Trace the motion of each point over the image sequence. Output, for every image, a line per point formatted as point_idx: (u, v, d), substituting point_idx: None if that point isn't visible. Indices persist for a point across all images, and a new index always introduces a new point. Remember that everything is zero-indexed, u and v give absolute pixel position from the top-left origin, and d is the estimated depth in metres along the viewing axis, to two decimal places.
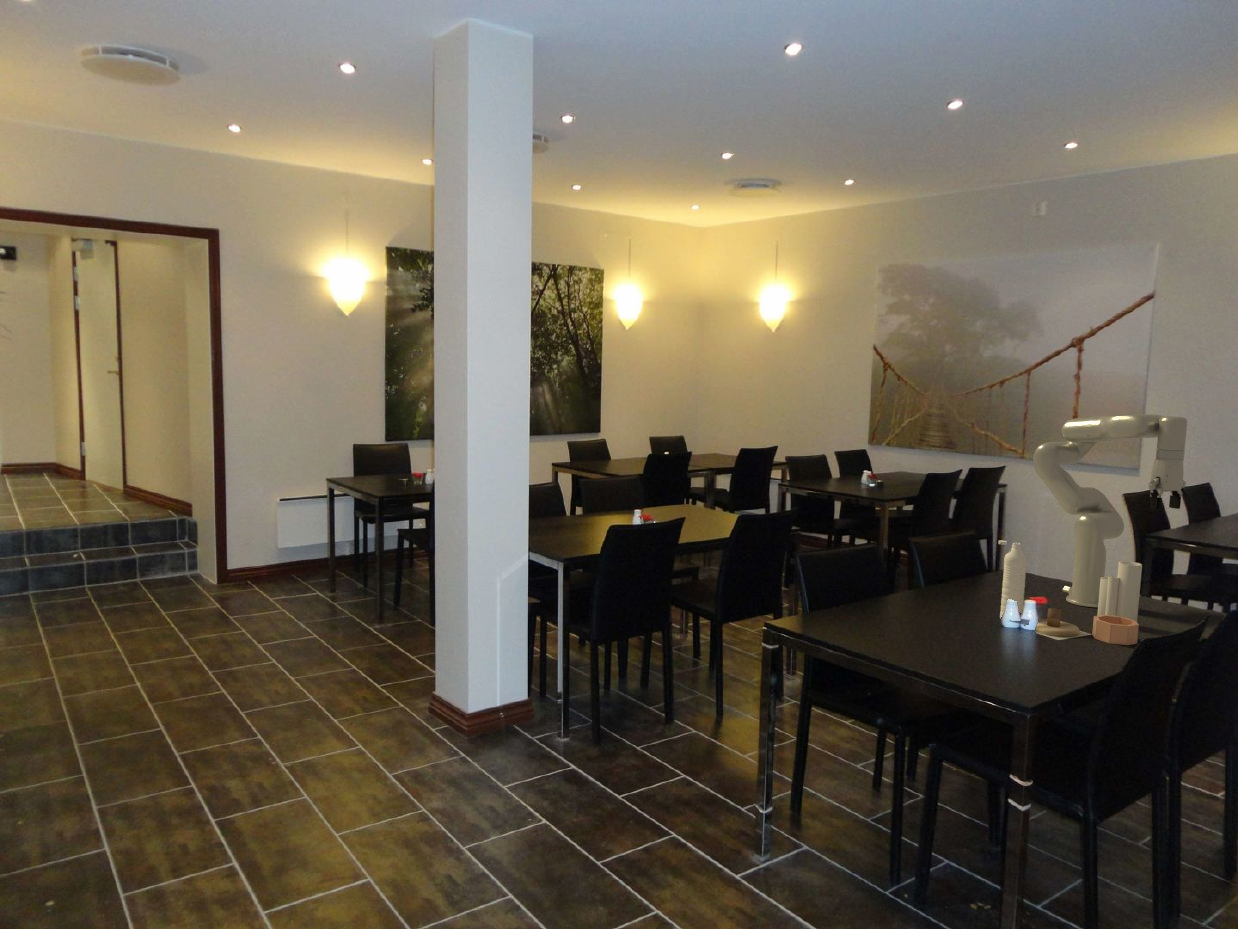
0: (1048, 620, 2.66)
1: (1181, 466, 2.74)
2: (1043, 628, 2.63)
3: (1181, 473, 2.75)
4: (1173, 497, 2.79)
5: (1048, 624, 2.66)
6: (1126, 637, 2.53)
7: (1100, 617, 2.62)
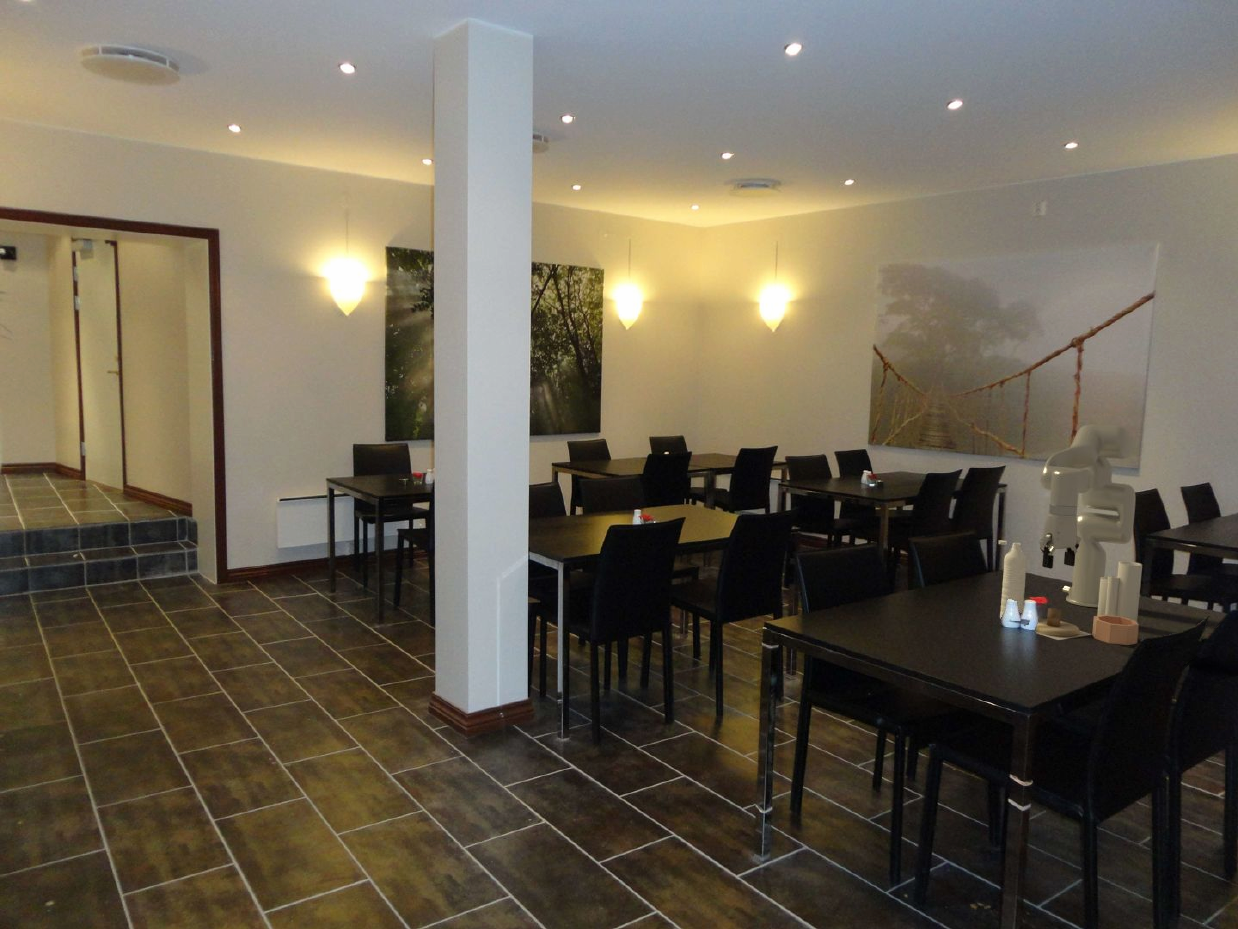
0: (1048, 620, 2.66)
1: (1074, 522, 2.62)
2: (1043, 628, 2.63)
3: (1074, 529, 2.62)
4: (1068, 554, 2.66)
5: (1048, 624, 2.66)
6: (1126, 637, 2.53)
7: (1100, 617, 2.62)
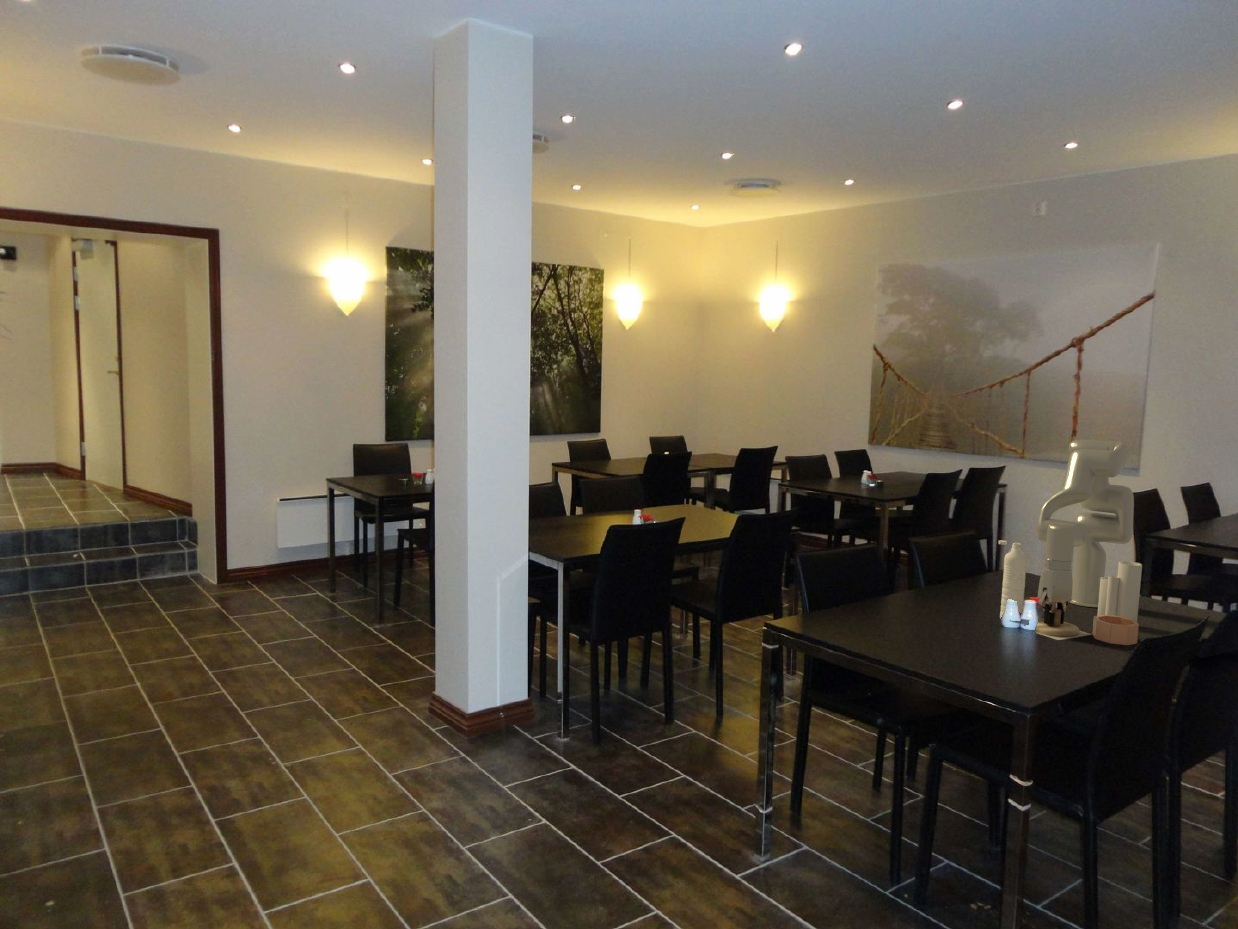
0: None
1: (1069, 576, 2.64)
2: (1043, 628, 2.63)
3: (1070, 583, 2.64)
4: None
5: None
6: (1126, 637, 2.53)
7: (1100, 617, 2.62)
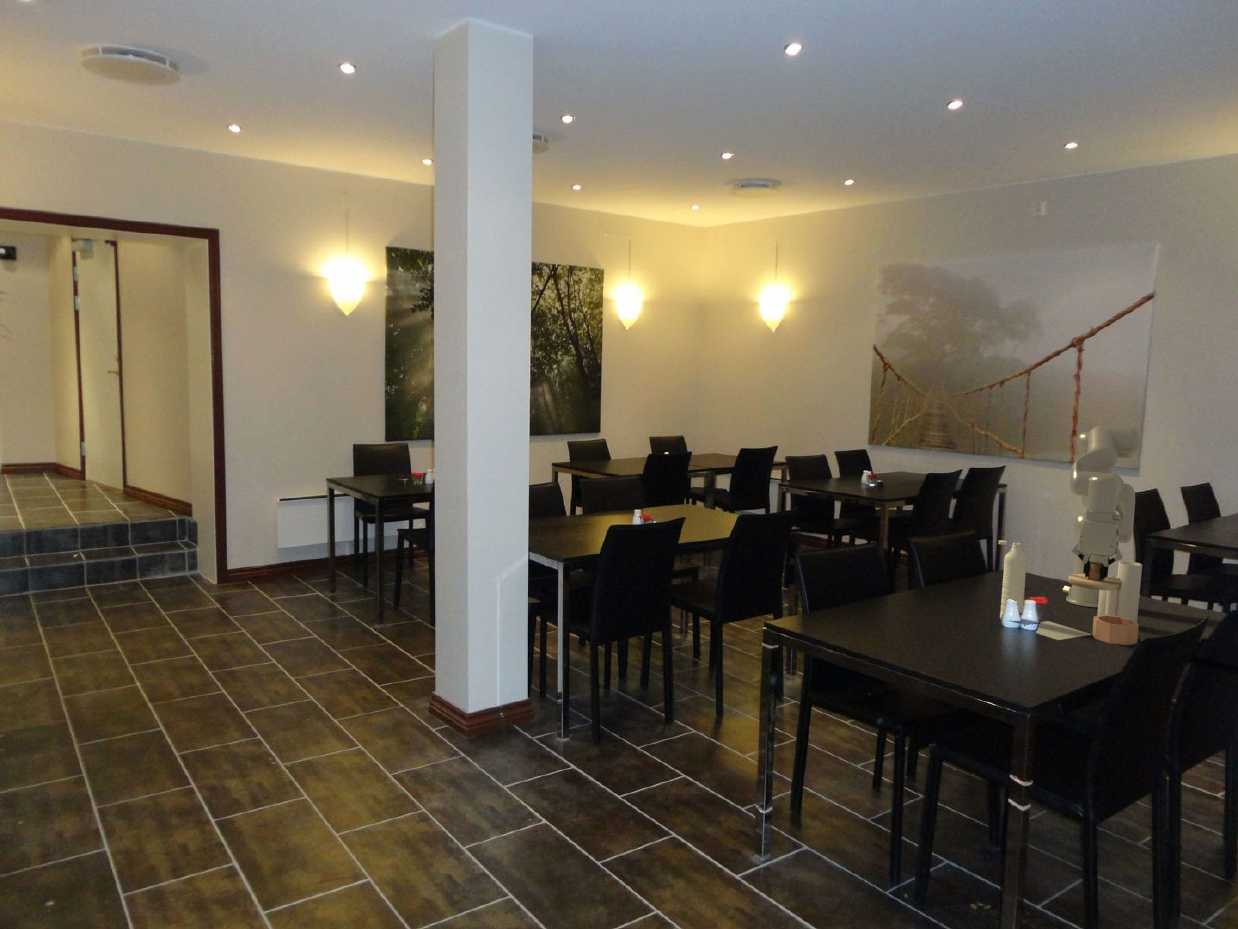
0: None
1: (1107, 530, 2.55)
2: (1072, 576, 2.63)
3: (1108, 538, 2.55)
4: None
5: None
6: (1126, 637, 2.53)
7: (1100, 617, 2.62)
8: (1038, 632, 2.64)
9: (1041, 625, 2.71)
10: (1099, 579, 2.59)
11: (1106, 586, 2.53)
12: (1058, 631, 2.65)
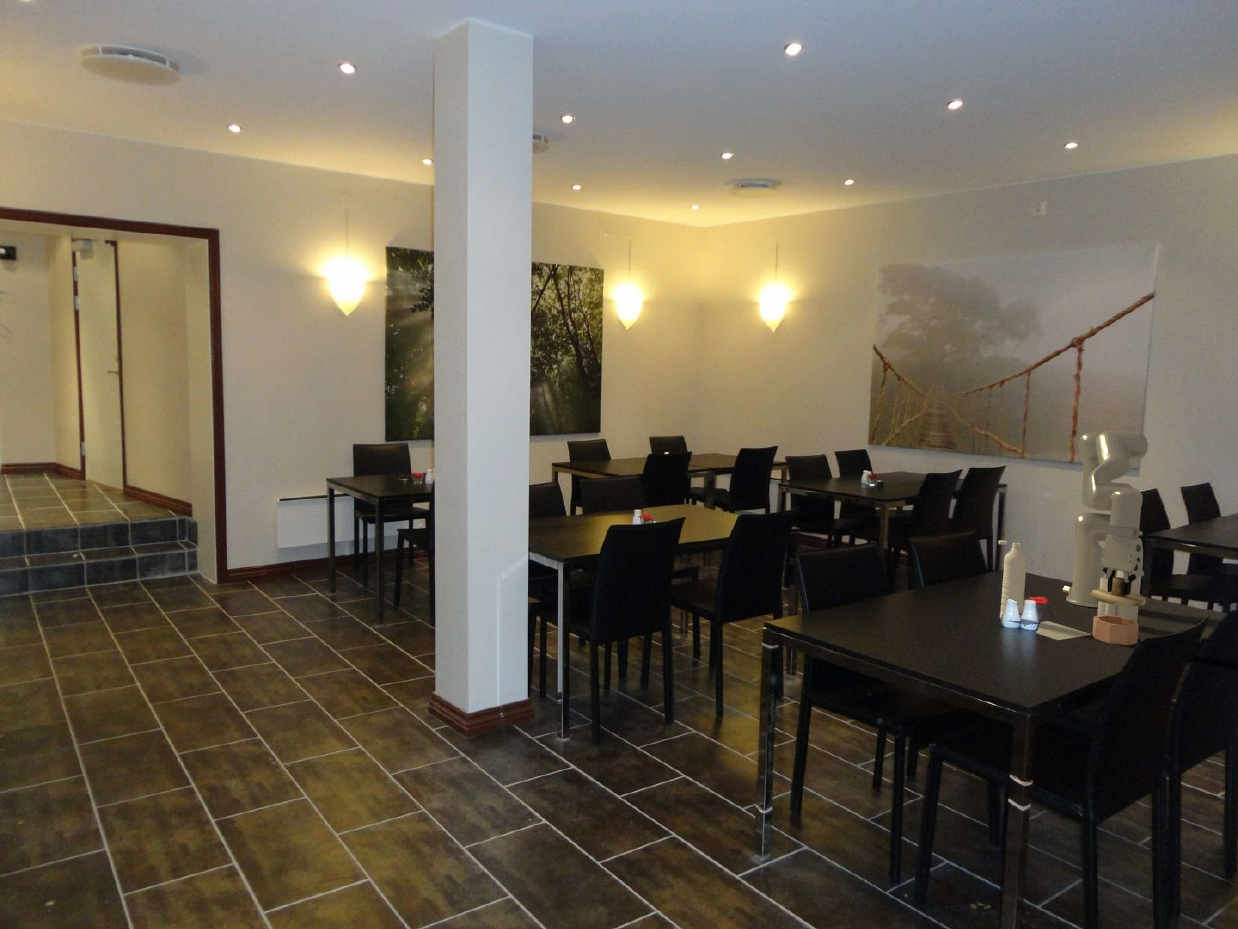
0: None
1: (1126, 545, 2.53)
2: (1097, 590, 2.62)
3: (1126, 553, 2.53)
4: None
5: None
6: (1126, 637, 2.53)
7: (1100, 617, 2.62)
8: (1038, 632, 2.64)
9: (1041, 625, 2.71)
10: (1120, 595, 2.56)
11: (1120, 601, 2.51)
12: (1058, 631, 2.65)
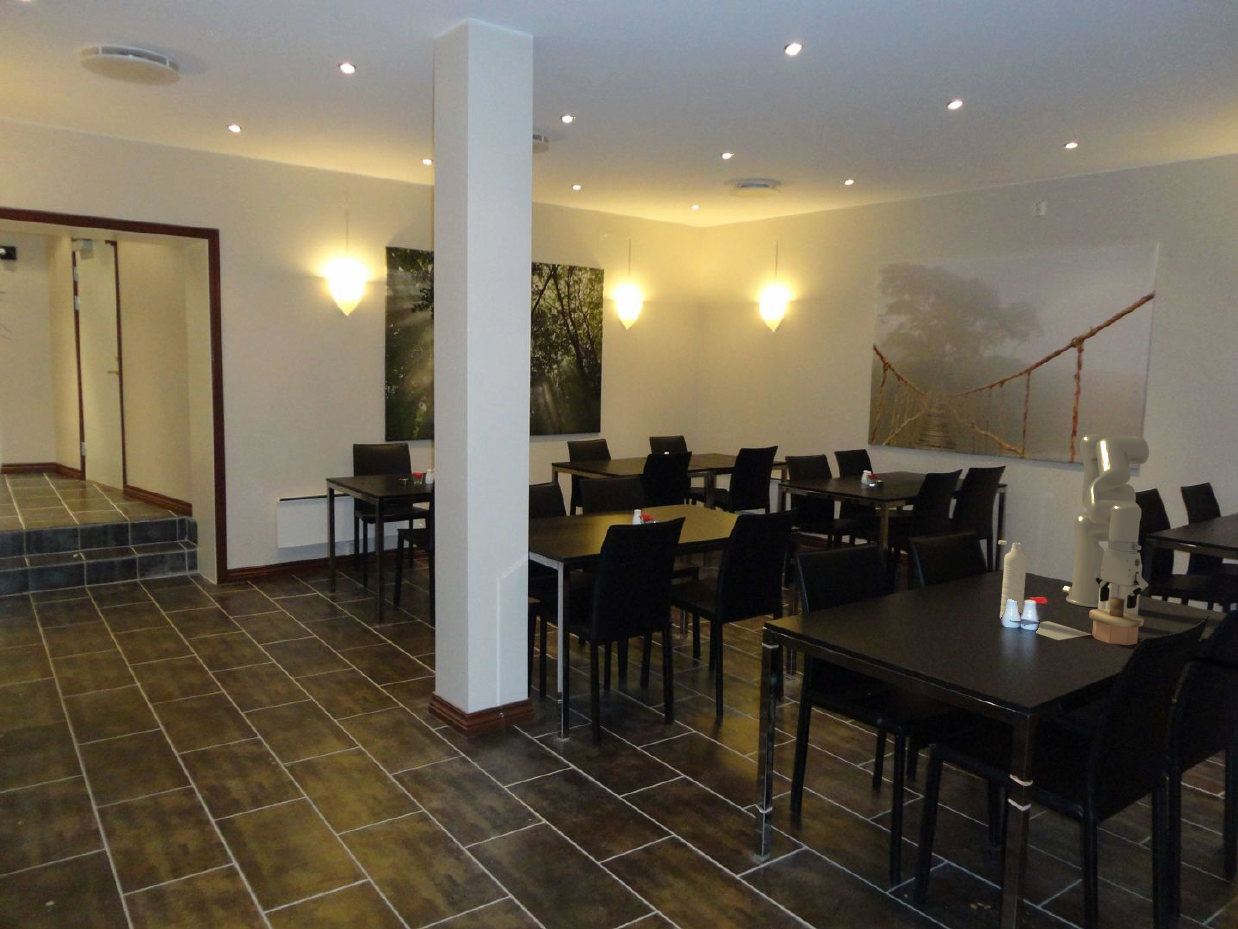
0: None
1: (1124, 559, 2.53)
2: (1096, 610, 2.63)
3: (1125, 567, 2.53)
4: None
5: None
6: (1126, 637, 2.53)
7: None
8: (1038, 632, 2.64)
9: (1041, 625, 2.71)
10: (1118, 615, 2.57)
11: (1117, 622, 2.52)
12: (1058, 631, 2.65)
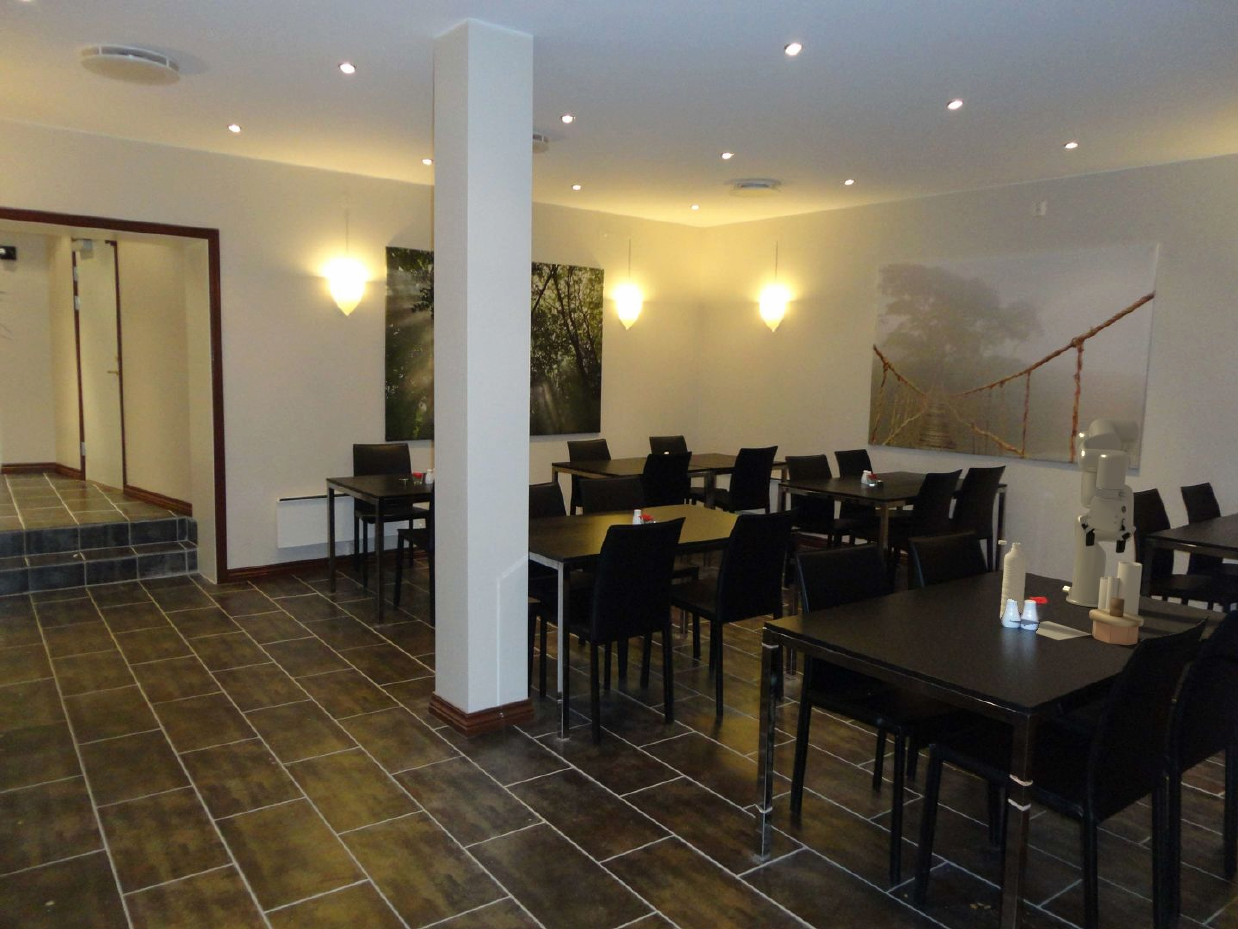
0: None
1: (1111, 506, 2.60)
2: (1096, 610, 2.63)
3: (1112, 514, 2.60)
4: None
5: None
6: (1126, 637, 2.53)
7: None
8: (1038, 632, 2.64)
9: (1041, 625, 2.71)
10: (1118, 615, 2.57)
11: (1117, 622, 2.52)
12: (1058, 631, 2.65)
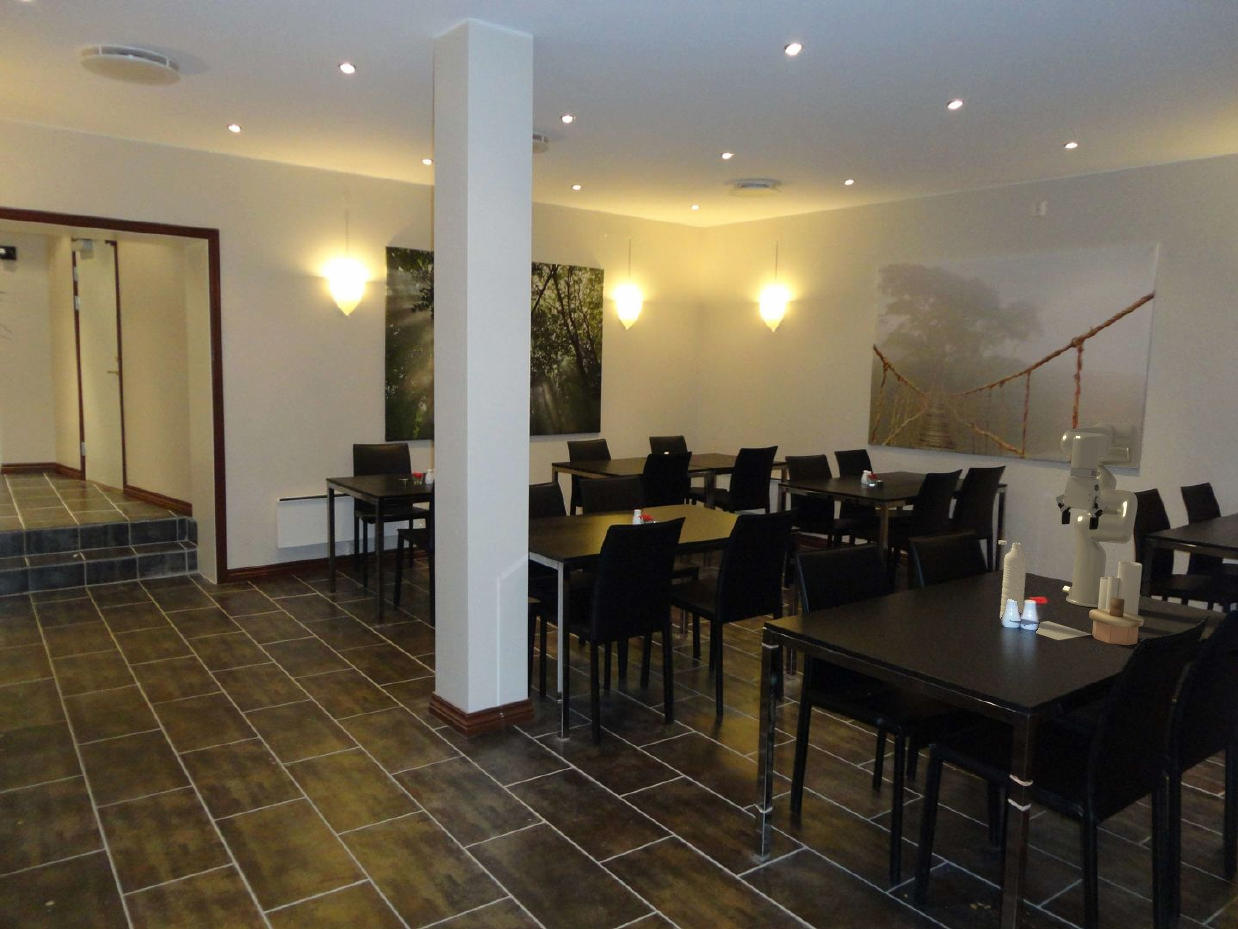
0: None
1: (1085, 485, 2.73)
2: (1096, 610, 2.63)
3: (1086, 492, 2.72)
4: None
5: None
6: (1126, 637, 2.53)
7: None
8: (1038, 632, 2.64)
9: (1041, 625, 2.71)
10: (1118, 615, 2.57)
11: (1117, 622, 2.52)
12: (1058, 631, 2.65)
